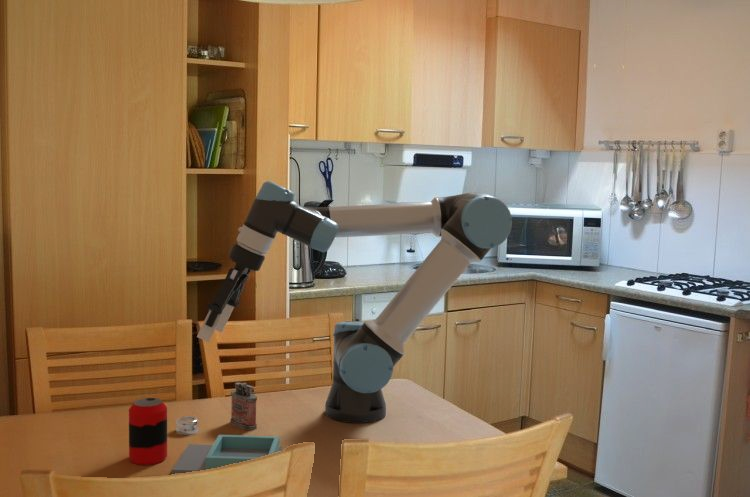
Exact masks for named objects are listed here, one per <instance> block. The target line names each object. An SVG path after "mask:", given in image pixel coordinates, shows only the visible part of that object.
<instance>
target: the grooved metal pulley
mask: <svg viewBox="0 0 750 497" xmlns="http://www.w3.org/2000/svg"><path fill="white" fill-rule="evenodd" d="M199 423H200V422H199V418H198V417H195V416H193V415H191V416H190V415H184V416H180V417H178V418H177V419H176V421H175V425H176V427H175V433H176V434H178V435H182V436H190V435H195V434H197V433H199V426H198V424H199Z"/></svg>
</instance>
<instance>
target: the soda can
mask: <svg viewBox="0 0 750 497" xmlns="http://www.w3.org/2000/svg"><path fill="white" fill-rule="evenodd" d="M167 457H168V407H167V405H166V404H165V403H164V402H163V400H162V399H160V398H155V397H148V398H140V399H136V400H134V401H133V403H132V405H131V406H130V407H129V409H128V460H129V461H130V462H131V463H133V464H135V465H142V466H147V465H148V466H149V465H155V464H159V463H161V462H163V461H165V460H166V458H167Z"/></svg>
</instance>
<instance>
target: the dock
mask: <svg viewBox="0 0 750 497" xmlns="http://www.w3.org/2000/svg"><path fill="white" fill-rule="evenodd" d="M280 439H281V438H280V436H276V435H275V436H274V435H273V436H271V435H241V434H240V435H239V434H238V435H237V434H218V435H217V437H216V438H215V441H214V442H213V444H195V443H194V444H193V443H192V444H188V445H187V447H185V449H184V450H183V452H182V454H181V456H180V457H179V458H178V460H177V462H176V463H175V465H174V466H173V468H172V469H171V475H172V474H175V473H186V472H192V471H200V470H206V469H211V468H217V467H221V466H225V465H229V464H233V463H239V462H243V461H247V460H251V459H255V458H259V457H261V456H265V455H268V454H272V453H275V452H278V451H282V452H283V447H282V446H280V445H281V444H280V442H281V441H280Z"/></svg>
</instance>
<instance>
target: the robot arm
mask: <svg viewBox="0 0 750 497" xmlns="http://www.w3.org/2000/svg"><path fill="white" fill-rule="evenodd" d="M294 198H295V192H293V191H291V190H290V189H289V188H286V187H284V186H282V185H279V184H277V183H275V182H273V181H271V180H267V181H265V182H263V183H262V185H261V187H260V189H259V191H258V192H257V194H256V196H255V198H254V200H253V203H252V204H251V207H250V209H249V210H248V213H247V216H246V218H245V220H244V222H243V225H242V227H238V228H237V231H238V232H239V233H238V235H237V237H236V241H237V242H235V243H233V245H232V248H231V249H230V251H229V253H228V258H229V260H230V261H231V262H234V263H235V264H234V266H233V267H230V268H229V269H228V272H227V274H226V276H225V278H224V280H223V282H222V284H221V285H220V287H219V288H218V291H217V292H216V294H215V296H214V297H213V300H212V301H211V303H210V304H207V305H206V309H207V310H208V312H207V315H206V316H205V318H204V321H203V322H202V325H201V327H200V329H199V331H198V333H197V336H196V338H199V339H201V340H203V341H205V342H207V343H209V342H210V341H211V338H212V336H213V335H214V333H215V332H214V331H217V332H219V333H224V332H223V331H224V329H225V327H226V325H227V324H228V321H229V319H230V316H231V315H232V312H233V310H234V309H235V308H238V307H239V305H240V303H239V301H240V296H241V294H242V293H243V290H244V287H245V284H246V282H247V280H248V279H249V275H250V273H251V271H255V272H259V271H260V270H261V267H262V266H263V263H264V261H265V259H266V258H265V255H267V254H268V253H269V251H270V249H271V247H272V245H273V243H274V241H275V238H276V236H277V234H278V233H280V234H282V235H284V236H287V237H289V238H291V239H293V240H294V241H297V242H299V243H301V244H303V245H305V246H307V247H309V248H311V249H312V250H316V251H319V252H321V253H326V252H328V250H329V249H330V247H331V246H332V245H333V242H334V241H335V238H355V237H374V236H375V237H376V236H391V235H392V236H395V235H397V236H398V235H412V234H413V235H415V234H416V235H417V234H418V235H419V234H433V235H434V236H435V237H439V238H440V240H439V241H438V243H437V244H436V246H435V247H434V248H433V249H432V250H431V251H430V253H429V254H428V256H426V258H424V260H423V261H422V262H421V263H420V265H419V266H418V267H417V268H416V269H415V270H414V272H413V273H412V275H411V276H410V277H409V278H408V279H407V280H406V282H404V284H403V285H402V286H401V288H400V289H399V291H397V293H396V294H395V295H394V296H393V297H392V299H391V300H390V301H389V302H388V304H387V305H386V306H385V307H384V308H383V310H382V311H381V312H380V313H379V315H378V316H377V317H376V318H375V319H374V320H365V321H341V322H340V321H339V322H337V323H336V324H335V325H334V328H333V334H332V336H333V360H332V361H333V363H332V364H333V367H332V368H333V370H332V383H331V386H330V389H329V393H328V394H327V398H326V401H325V404H324V406H325V407H324V408H325V409H324V414H325V415H326V416H327V417H328V418H330V419H331V420H333V421H334V420H335V421H338V422H344V423H351V424H353V423H355V424H359V423H360V424H362V423H371V422H376V421H379V420H382V419H383V418H385V416H386V414H387V404H386V401H385V397H384V394H383V390H382V389H383V388H385V387H386V386H387V385H388V384H389V383H390V380H391V378H392V376H393V373H394V368H395V367H396V365H397V364H398V362H399V361H400V360H401V358H402V357H403V356H404V355H405V343H406V342H407V341H408V340H409V338H411V336H412V335H413V334H414V333H415V331H416V330H417V329H418V328H419V326H420V325H421V324H422V323H423V321H424V320H425V319H426V317H428V315H429V314H430V313H431V311H433V309H434V308H435V307H436V306H437V304H438V303H439V302H440V301H441V300H442V299H443V297H444V296H445V295H446V293H447V292H448V291H449V290H450V288H452V286H454V284H455V282H456V281H457V280H458V278H460V276H461V275H462V274H463V273H464V272H465V271H466V269H467V268H468V267H469V265H470V264H472V263H480V262H482V260H483V258H485V256H486V255H487V254H488V253H489V251H491V249H494V248H496V247H498V246H500V245H502V244H503V243H504V242H505V241H506V240H507V239H508V237H509V236H510V234H511V230H512V225H513V219H512V214H511V210H510V209H509V207H508V206H507V205H506V204H505V202H504V201H502V200H501V199H500V198H497V196H495V195H492V194H488V193H479V192H466V193H461V194H456V195H449V196H438V197H434V198H433V199H431V201H422V202H419V201H418V202H403V203H402V202H401V203H399V202H398V203H382V204H381V203H379V204H376V203H375V204H359V205H358V204H357V205H341V206H340V205H339V206H336V205H335V206H318V207H317V206H316V207H312V206H302V205H299V204H298V203H297V202H295V201H294Z"/></svg>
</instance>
